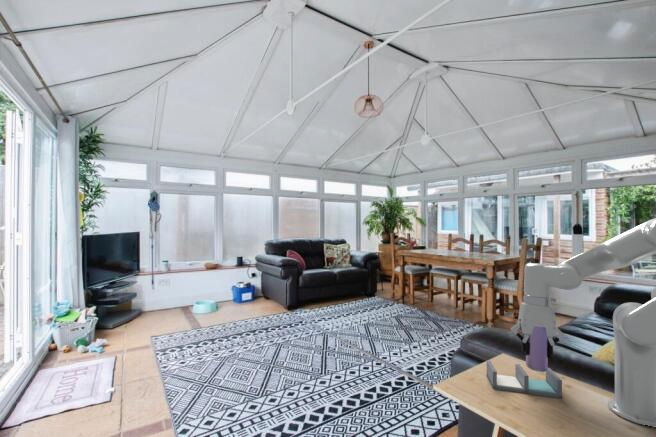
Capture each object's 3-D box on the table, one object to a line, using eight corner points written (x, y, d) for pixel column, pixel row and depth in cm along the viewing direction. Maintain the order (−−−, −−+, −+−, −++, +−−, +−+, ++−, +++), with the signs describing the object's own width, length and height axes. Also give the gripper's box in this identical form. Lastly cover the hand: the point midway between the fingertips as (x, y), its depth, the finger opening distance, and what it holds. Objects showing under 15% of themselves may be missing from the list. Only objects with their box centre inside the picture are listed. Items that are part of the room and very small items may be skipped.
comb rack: (549, 384, 105) (549, 368, 106) (562, 398, 97) (561, 380, 97) (486, 375, 111) (486, 360, 111) (492, 388, 102) (492, 371, 102)
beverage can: (551, 373, 99) (551, 326, 100) (530, 371, 101) (531, 324, 101) (542, 365, 105) (542, 321, 106) (522, 363, 106) (523, 319, 107)
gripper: (562, 300, 105) (561, 354, 104) (505, 296, 109) (504, 347, 109) (573, 305, 97) (572, 363, 97) (511, 300, 102) (511, 356, 102)
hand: (536, 354), depth 103 cm, fingers closed on beverage can, 6 cm apart
